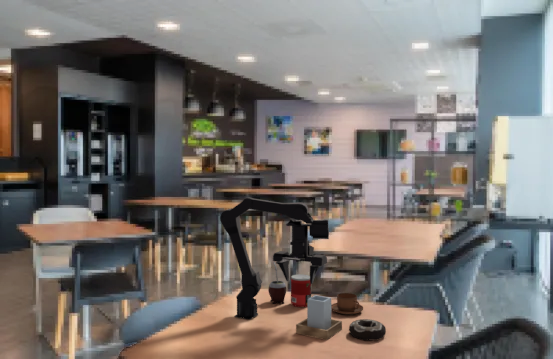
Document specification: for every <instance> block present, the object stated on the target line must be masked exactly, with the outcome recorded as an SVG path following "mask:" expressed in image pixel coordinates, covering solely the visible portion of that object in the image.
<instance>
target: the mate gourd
mask: <svg viewBox="0 0 553 359" xmlns="http://www.w3.org/2000/svg"><path fill="white" fill-rule="evenodd" d="M272 262H273V266H274V270H275V277H276V278H275V279H276V280H272V281H271V282H270V284H268V289H267V290H268V294H269V297H270V300H269V301H270V302H272V303H271V304H272V305H276V304H281V305H284V304H285V298H286V294H287V285H286V283H285V282H284V281H282V280H279V277H278V268H277V264H276V261H272Z"/></svg>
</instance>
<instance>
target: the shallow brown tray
mask: <svg viewBox="0 0 553 359" xmlns="http://www.w3.org/2000/svg"><path fill="white" fill-rule="evenodd" d="M342 330H343V321H342V320H339V319H333V318H331V327H330V328H329V329H327V330H324V329H319V328H314V327H309V326H307V318H305V319H303V320H301V321H300V322H298V323H296V324H295V333H296V334H299V335H302V336H305V337H306V336H307V337H310V338H315V339H321V340H325V341H328V340H330V339H331V338H332V337H334V336H336V334H338V333H339V332H341V331H342Z"/></svg>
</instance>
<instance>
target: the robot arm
mask: <svg viewBox="0 0 553 359" xmlns="http://www.w3.org/2000/svg"><path fill="white" fill-rule="evenodd" d="M249 210H253V211H260V212H267V213H272V214H277V215H278V214H279V215H284V216H285V217H288V218H290V219H289V221H288V222H286V224H285V226H286V227H291V241H290V242H289V245H290V246H291V253H289V251H285V250H284V251H283V250H279V251H277V252H274V253H273V255H272V262H275V265H278V267H279V269H280V270H281V273H282V274H283V276H284V279H285V281H286V282H289V281H290V280H289V279H290V271H289V270H290V269H289V265H290V261H298V262H308V263H310V264H311V265H310V266H309V276H310V284H311V285H313V284H314V280H315V278H316V275H317V272H318V270H319V268H321V267H323V266H324V265H326V264H327V263H328V258H327V255H325V254H314V251H315V250H314V249H315V247H314V246H312V245H311V244H310V240H309V237H311V238H312V239H313V240H330V228H329V219H314V218H313V216H312V215H311V213H310V212H309V207H308V205H307V204H306V203H304V202H301V201H300V202H277V201H271V200H270V201H269V200H265V199H259V198H253V197H249V196H248V197H245V198H244V199H243V200H242V201H241V202H239V203H238V204H237V205H235V206H234V207H233V208H232V207H231V208H228V209H225V210H224V211H222V212H221V214H220V216H219V222H220V224H221V225H222V227H223V228H224V230H225V231H226V233H227V235H228V236H229V239H230V242H231V246H232V248H233V250H234V254H235V258H236V261H237V264H238V267H239V271H240V274H241V275H240V276H241V279H240V282H241V290H239V292H238V294H237V295H236V297H235V298H236V314H235V315H234V318H238V319H244V320H252V319H253V318H255V317H257V316H258V315H259V313H258V303H257V298H255V297H257V295H258V293H260V290H261V289H262V283H263V280H262V278H261V275H260V271H257V272H255V270H254V268H253V267H252V263H251V260H250V257H249V254H248V250H247V248H246V245H245V240H244V238H243V235H242V230H241V228H242V227H241V218H240V217H241V216H242V215H244V214H245V213H246V212H247V211H249ZM308 236H309V237H308Z"/></svg>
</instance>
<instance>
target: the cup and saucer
mask: <svg viewBox="0 0 553 359" xmlns="http://www.w3.org/2000/svg"><path fill="white" fill-rule="evenodd" d="M331 311H333V312H335V313H336V314H341V315H356V314H359V313H361V312H362V311H364V307H363V305H361V304H360V302H359V301H358V295H357V294H355V293H351V292H350V293H349V292H341V293H338V294H337V295H336V302H334V303H331Z"/></svg>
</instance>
